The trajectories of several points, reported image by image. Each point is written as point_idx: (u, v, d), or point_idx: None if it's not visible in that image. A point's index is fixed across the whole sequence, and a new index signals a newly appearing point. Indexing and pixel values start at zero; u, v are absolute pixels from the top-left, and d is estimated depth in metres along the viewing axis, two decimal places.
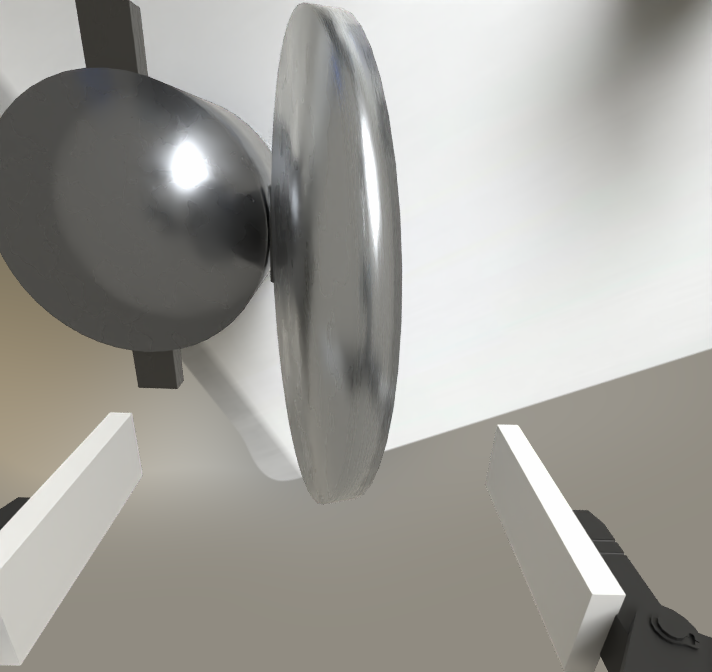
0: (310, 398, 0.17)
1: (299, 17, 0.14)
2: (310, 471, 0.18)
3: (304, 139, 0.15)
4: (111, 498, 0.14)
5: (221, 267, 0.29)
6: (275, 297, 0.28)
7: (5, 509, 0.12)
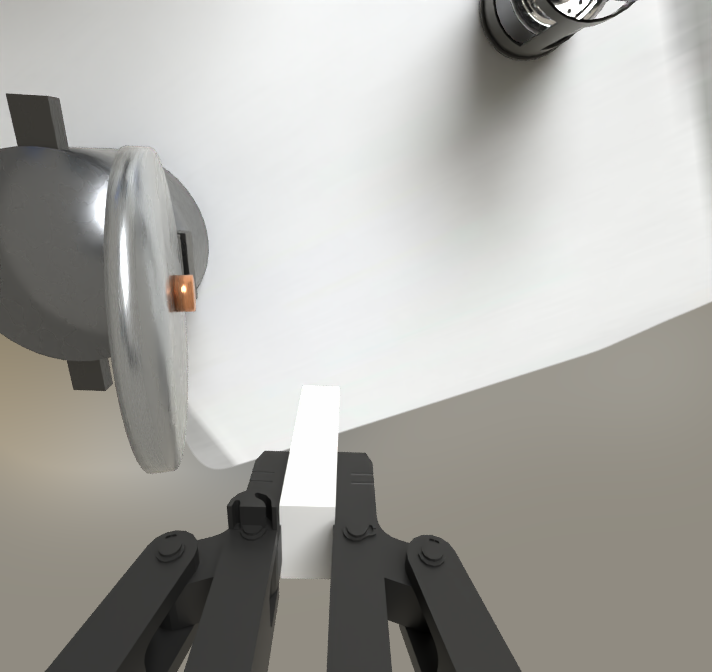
0: None
1: None
2: None
3: None
4: None
5: None
6: None
7: (261, 459, 0.14)
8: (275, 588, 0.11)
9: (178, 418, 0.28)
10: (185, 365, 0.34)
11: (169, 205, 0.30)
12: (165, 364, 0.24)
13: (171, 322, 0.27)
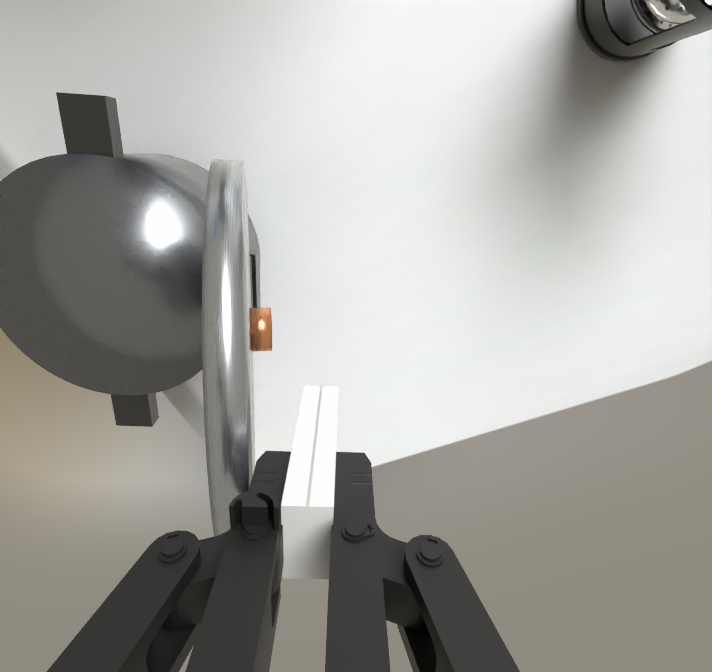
0: None
1: None
2: None
3: None
4: None
5: (190, 323, 0.33)
6: None
7: (262, 459, 0.14)
8: (277, 588, 0.11)
9: None
10: None
11: None
12: None
13: None
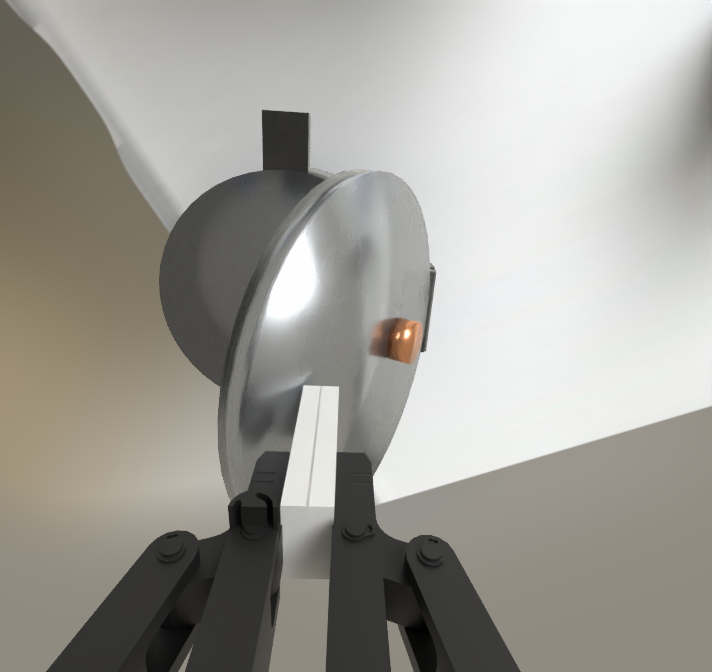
0: None
1: None
2: None
3: None
4: None
5: None
6: None
7: (262, 459, 0.14)
8: (276, 588, 0.11)
9: None
10: (393, 417, 0.29)
11: (418, 238, 0.26)
12: None
13: (366, 373, 0.23)
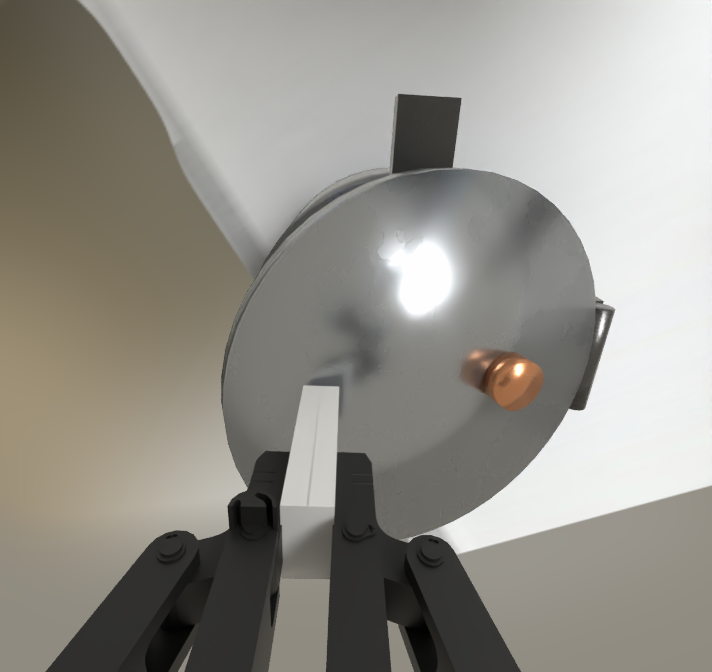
0: None
1: None
2: None
3: None
4: None
5: None
6: None
7: (262, 459, 0.14)
8: (276, 588, 0.11)
9: (386, 502, 0.22)
10: (498, 470, 0.24)
11: (563, 260, 0.20)
12: (350, 428, 0.19)
13: (435, 398, 0.20)
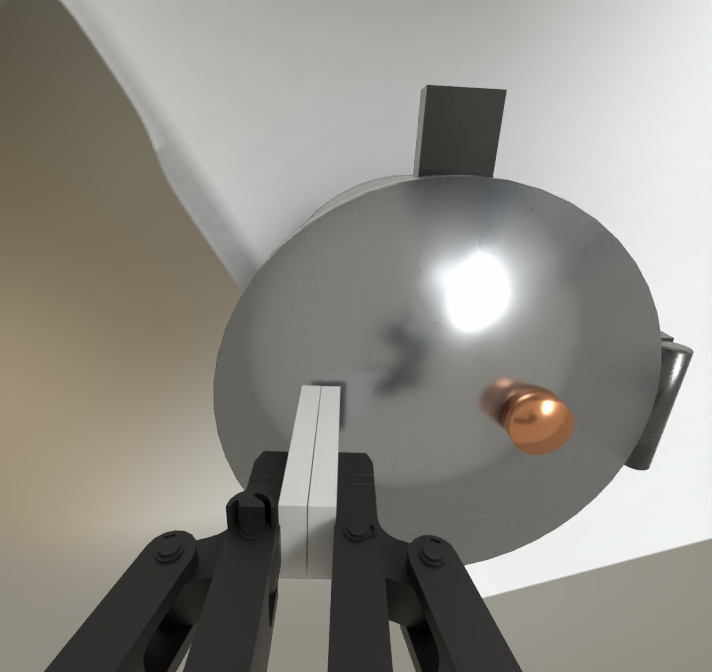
0: None
1: None
2: None
3: None
4: None
5: None
6: None
7: (261, 459, 0.14)
8: (274, 588, 0.11)
9: (384, 527, 0.21)
10: (524, 520, 0.21)
11: (610, 286, 0.17)
12: (342, 441, 0.19)
13: (440, 425, 0.19)
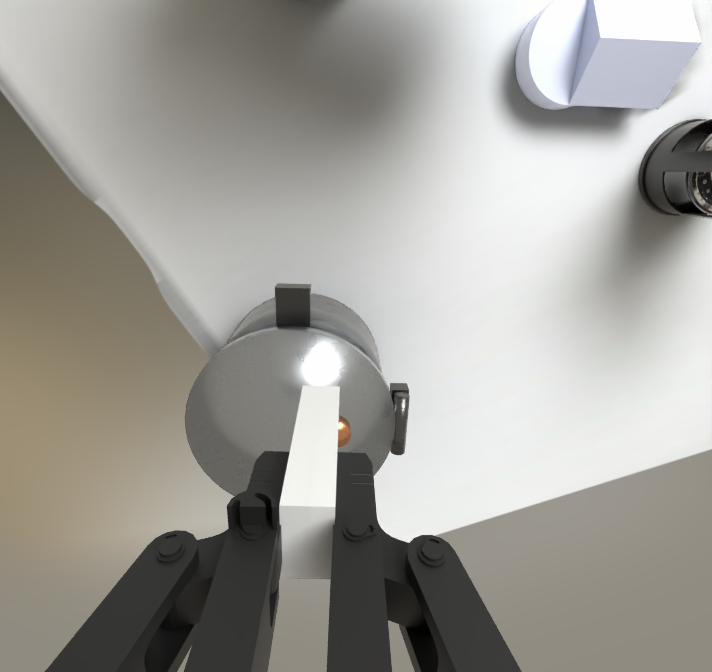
0: None
1: None
2: None
3: None
4: None
5: None
6: None
7: (261, 459, 0.14)
8: (275, 588, 0.11)
9: None
10: None
11: (360, 371, 0.38)
12: (247, 443, 0.40)
13: None
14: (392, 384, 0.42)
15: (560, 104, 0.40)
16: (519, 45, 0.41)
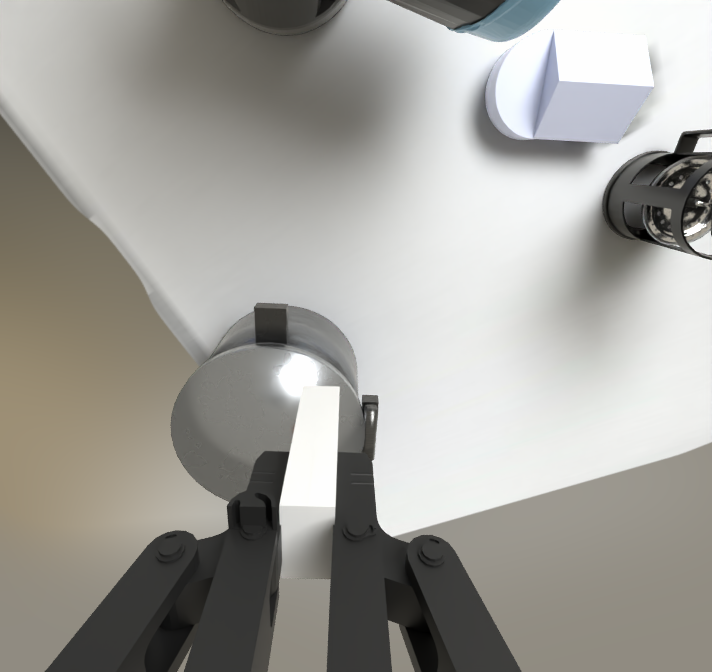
0: None
1: None
2: None
3: None
4: None
5: None
6: None
7: (261, 459, 0.14)
8: (275, 588, 0.11)
9: None
10: None
11: (331, 385, 0.41)
12: (228, 448, 0.43)
13: (270, 441, 0.43)
14: (364, 396, 0.45)
15: (525, 137, 0.43)
16: (489, 80, 0.43)
